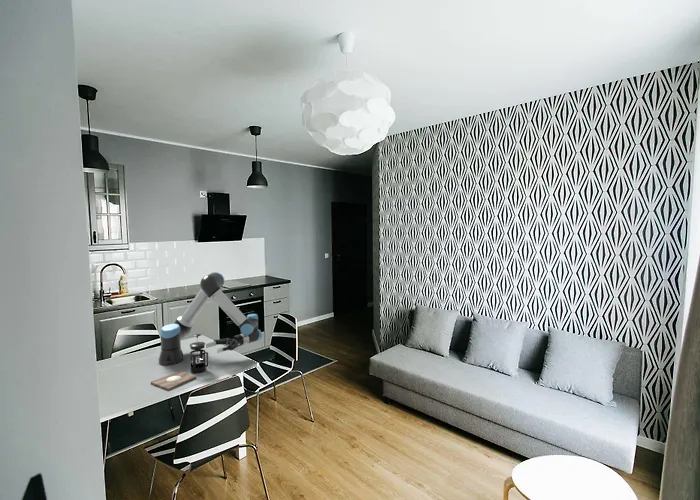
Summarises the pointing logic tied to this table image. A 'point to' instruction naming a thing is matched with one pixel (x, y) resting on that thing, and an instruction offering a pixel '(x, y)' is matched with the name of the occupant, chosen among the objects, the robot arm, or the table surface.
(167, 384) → the board
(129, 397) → the table surface
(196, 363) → the french press
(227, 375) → the table surface
